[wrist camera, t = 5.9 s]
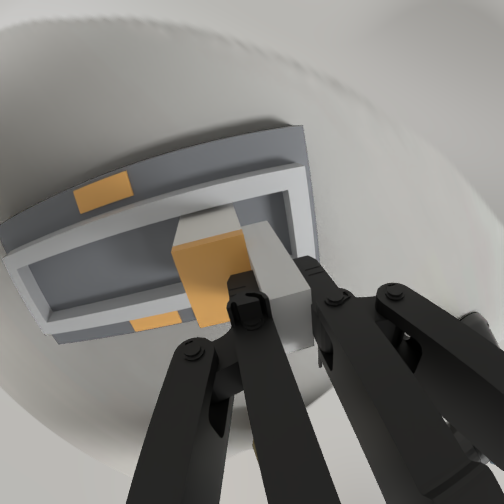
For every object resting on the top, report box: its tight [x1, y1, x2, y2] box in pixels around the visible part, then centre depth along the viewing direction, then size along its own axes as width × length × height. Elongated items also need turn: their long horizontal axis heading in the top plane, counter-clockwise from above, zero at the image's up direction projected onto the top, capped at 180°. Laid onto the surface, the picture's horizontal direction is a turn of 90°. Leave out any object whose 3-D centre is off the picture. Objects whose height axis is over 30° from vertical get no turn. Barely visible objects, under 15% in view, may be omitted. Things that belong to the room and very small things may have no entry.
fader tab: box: [171, 203, 251, 328], centre depth 15 cm, size 3×4×5 cm
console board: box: [0, 125, 320, 344], centre depth 17 cm, size 24×12×4 cm, turn 101°
